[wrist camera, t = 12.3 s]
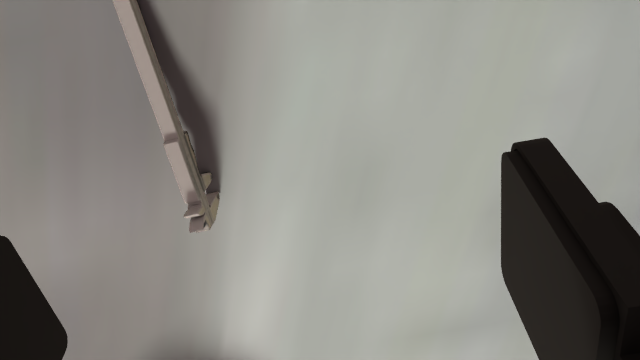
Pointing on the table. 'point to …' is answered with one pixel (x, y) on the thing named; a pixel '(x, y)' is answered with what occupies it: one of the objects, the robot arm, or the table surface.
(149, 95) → the caliper
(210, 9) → the table surface
